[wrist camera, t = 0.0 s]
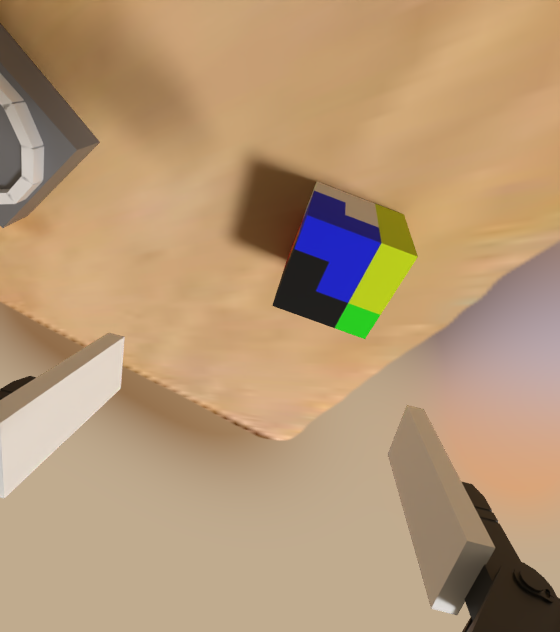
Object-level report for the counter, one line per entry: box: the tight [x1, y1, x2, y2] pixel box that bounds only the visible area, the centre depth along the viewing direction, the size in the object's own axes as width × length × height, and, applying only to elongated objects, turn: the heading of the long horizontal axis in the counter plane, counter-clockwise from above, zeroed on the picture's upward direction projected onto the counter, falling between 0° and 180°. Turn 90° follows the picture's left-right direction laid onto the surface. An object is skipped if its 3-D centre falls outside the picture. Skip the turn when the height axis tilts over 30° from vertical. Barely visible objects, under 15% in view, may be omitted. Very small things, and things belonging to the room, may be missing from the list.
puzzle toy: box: [273, 181, 418, 339], centre depth 36 cm, size 10×10×10 cm
